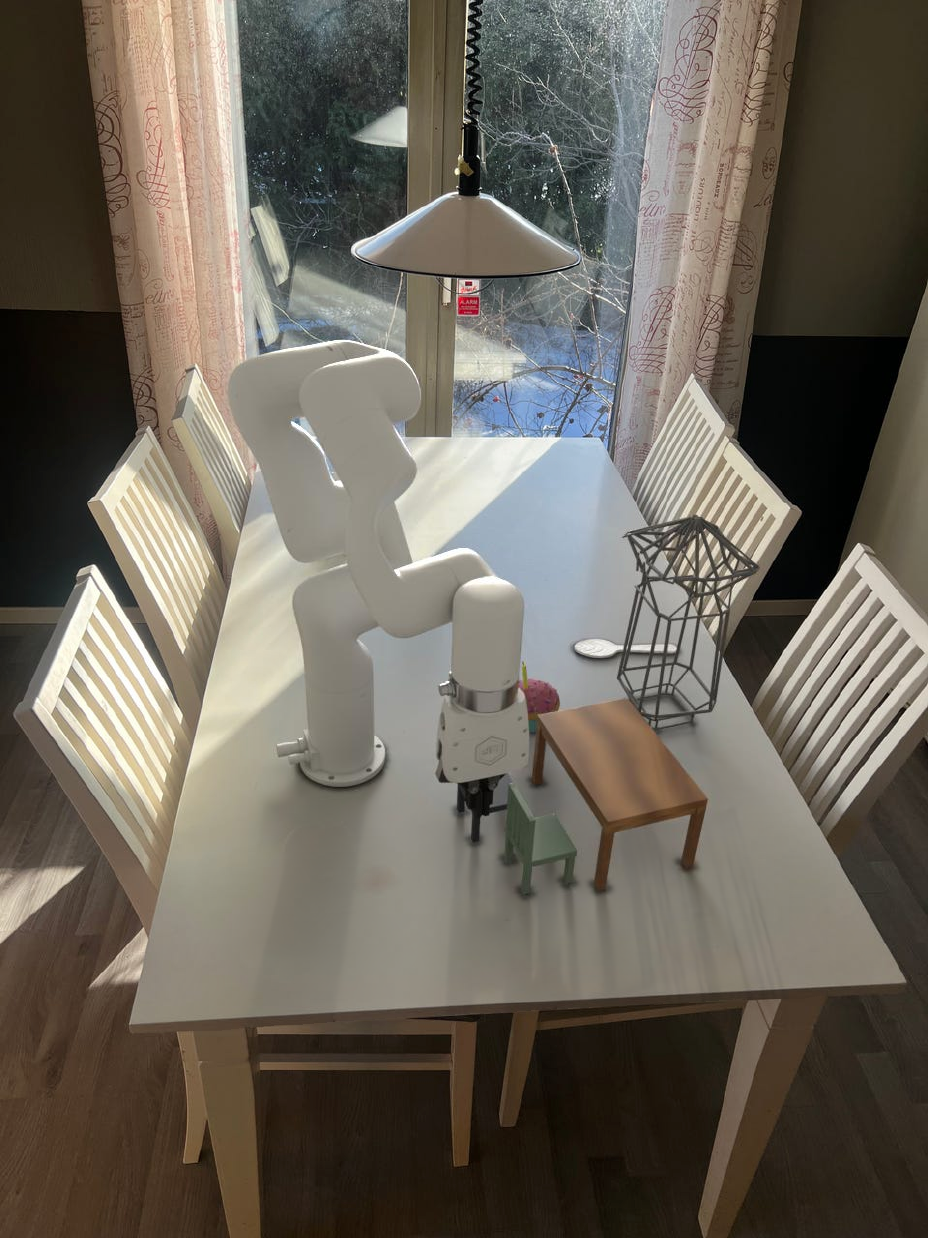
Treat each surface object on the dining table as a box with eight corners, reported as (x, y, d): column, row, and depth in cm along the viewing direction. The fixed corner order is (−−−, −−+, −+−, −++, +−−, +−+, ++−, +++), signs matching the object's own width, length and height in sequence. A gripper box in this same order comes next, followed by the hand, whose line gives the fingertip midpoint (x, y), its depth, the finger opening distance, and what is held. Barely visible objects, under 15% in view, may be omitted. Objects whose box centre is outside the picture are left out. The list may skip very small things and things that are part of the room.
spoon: (679, 658, 172) (680, 655, 171) (576, 657, 171) (577, 655, 170) (673, 641, 176) (673, 638, 176) (572, 640, 175) (573, 638, 175)
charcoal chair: (472, 843, 132) (476, 770, 126) (455, 808, 138) (458, 737, 131) (520, 832, 135) (527, 760, 128) (502, 798, 140) (507, 727, 133)
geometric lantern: (683, 679, 166) (719, 489, 148) (728, 737, 154) (773, 537, 135) (596, 691, 163) (622, 497, 144) (634, 752, 150) (668, 548, 131)
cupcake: (512, 743, 151) (517, 679, 144) (495, 710, 158) (500, 647, 151) (565, 735, 153) (572, 672, 146) (546, 702, 160) (552, 641, 153)
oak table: (597, 891, 126) (607, 822, 120) (531, 780, 144) (537, 715, 137) (693, 866, 131) (708, 798, 124) (617, 761, 148) (627, 697, 142)
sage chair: (522, 896, 125) (529, 821, 118) (502, 856, 131) (508, 783, 124) (573, 883, 127) (583, 809, 120) (551, 845, 133) (559, 772, 126)
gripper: (430, 718, 104) (428, 844, 114) (560, 693, 109) (547, 817, 118) (409, 678, 110) (409, 802, 120) (533, 656, 114) (524, 777, 124)
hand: (478, 809), depth 119 cm, fingers closed
